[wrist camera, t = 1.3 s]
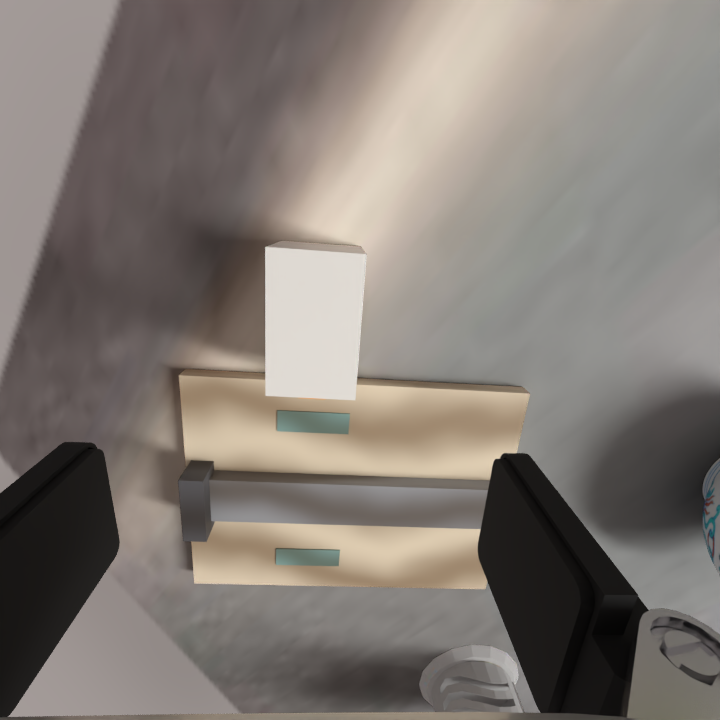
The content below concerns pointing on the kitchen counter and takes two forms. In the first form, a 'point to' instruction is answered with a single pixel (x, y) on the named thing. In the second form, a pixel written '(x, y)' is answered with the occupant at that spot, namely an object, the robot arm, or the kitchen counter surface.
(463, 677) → the french press
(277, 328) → the block
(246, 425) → the din panel
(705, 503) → the chinaware
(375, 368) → the kitchen counter surface
